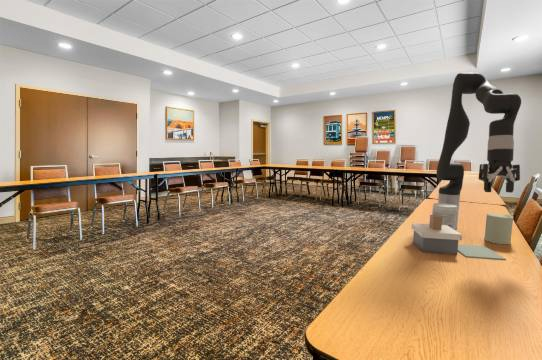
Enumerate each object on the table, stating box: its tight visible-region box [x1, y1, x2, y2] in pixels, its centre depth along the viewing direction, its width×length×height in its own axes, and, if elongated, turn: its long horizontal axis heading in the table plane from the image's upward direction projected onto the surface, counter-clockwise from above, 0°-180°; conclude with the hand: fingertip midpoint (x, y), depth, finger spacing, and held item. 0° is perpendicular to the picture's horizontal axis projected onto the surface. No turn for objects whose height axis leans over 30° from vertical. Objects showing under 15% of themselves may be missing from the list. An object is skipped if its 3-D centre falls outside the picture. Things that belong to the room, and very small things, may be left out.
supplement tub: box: [431, 202, 457, 231], centre depth 128 cm, size 10×10×15 cm
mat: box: [457, 243, 507, 261], centre depth 109 cm, size 14×13×1 cm
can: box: [483, 212, 514, 245], centre depth 122 cm, size 9×9×12 cm
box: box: [412, 230, 459, 255], centre depth 113 cm, size 12×12×7 cm
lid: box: [411, 214, 463, 241], centre depth 112 cm, size 13×13×7 cm
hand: (498, 192), depth 105 cm, fingers open, 8 cm apart
